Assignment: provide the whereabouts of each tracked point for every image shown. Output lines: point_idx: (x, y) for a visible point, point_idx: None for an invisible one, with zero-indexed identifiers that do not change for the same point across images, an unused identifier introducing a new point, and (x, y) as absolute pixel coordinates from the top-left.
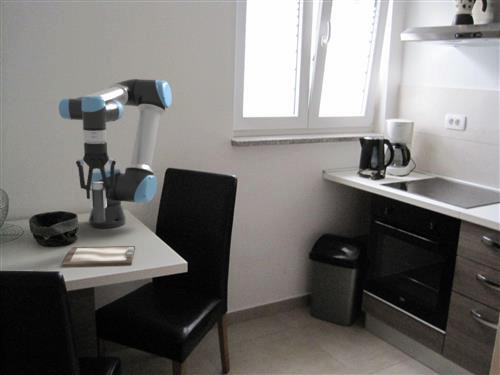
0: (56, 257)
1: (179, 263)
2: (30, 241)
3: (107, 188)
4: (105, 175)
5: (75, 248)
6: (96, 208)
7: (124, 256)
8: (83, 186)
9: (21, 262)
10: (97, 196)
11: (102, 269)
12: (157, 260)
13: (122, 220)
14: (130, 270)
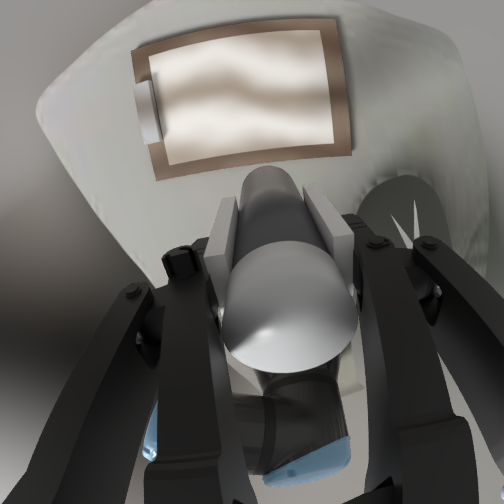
0: (375, 91)
1: (37, 102)
2: (452, 220)
3: (173, 264)
4: (166, 400)
5: (339, 142)
6: (279, 185)
7: (159, 83)
8: (423, 247)
9: (440, 70)
10: (275, 215)
11: (207, 7)
12: (80, 102)
13: None
14: (129, 20)
